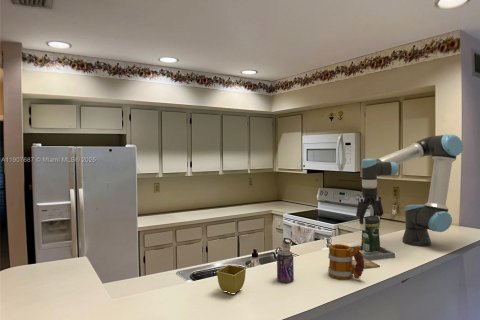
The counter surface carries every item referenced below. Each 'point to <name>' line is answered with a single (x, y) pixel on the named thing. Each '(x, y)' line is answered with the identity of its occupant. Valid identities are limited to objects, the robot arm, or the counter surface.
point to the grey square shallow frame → (385, 254)
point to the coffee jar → (371, 235)
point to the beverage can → (285, 266)
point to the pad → (366, 264)
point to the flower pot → (231, 278)
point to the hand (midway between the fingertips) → (370, 228)
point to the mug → (345, 262)
